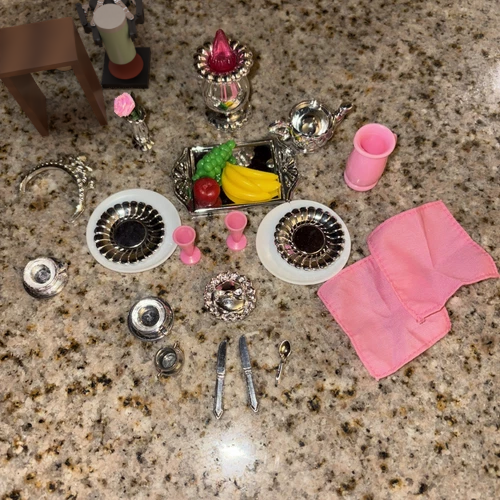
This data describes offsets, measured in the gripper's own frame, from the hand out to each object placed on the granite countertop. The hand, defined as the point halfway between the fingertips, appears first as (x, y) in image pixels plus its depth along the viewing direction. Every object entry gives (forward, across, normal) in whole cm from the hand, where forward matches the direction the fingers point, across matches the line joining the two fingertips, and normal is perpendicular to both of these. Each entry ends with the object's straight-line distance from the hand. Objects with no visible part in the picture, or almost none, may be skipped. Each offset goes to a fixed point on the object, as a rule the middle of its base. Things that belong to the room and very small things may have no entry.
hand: (116, 41), depth 99 cm
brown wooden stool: (+6, -13, +11) cm, 18 cm away
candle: (-8, -13, +11) cm, 19 cm away
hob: (-2, 0, +11) cm, 11 cm away
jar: (-2, 0, +6) cm, 6 cm away
